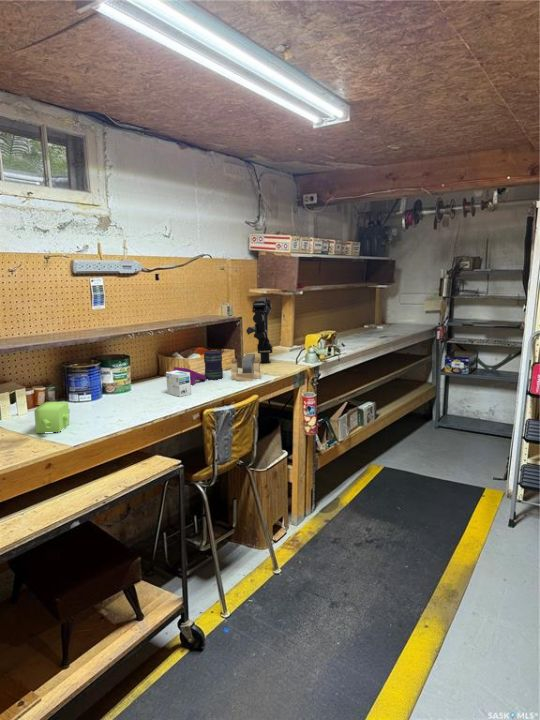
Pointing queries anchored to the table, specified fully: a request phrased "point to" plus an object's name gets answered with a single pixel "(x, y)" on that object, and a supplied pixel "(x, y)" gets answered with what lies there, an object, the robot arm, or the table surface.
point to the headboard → (245, 376)
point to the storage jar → (213, 364)
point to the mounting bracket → (191, 374)
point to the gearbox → (51, 417)
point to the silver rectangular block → (248, 363)
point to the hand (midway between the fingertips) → (261, 347)
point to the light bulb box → (178, 383)
